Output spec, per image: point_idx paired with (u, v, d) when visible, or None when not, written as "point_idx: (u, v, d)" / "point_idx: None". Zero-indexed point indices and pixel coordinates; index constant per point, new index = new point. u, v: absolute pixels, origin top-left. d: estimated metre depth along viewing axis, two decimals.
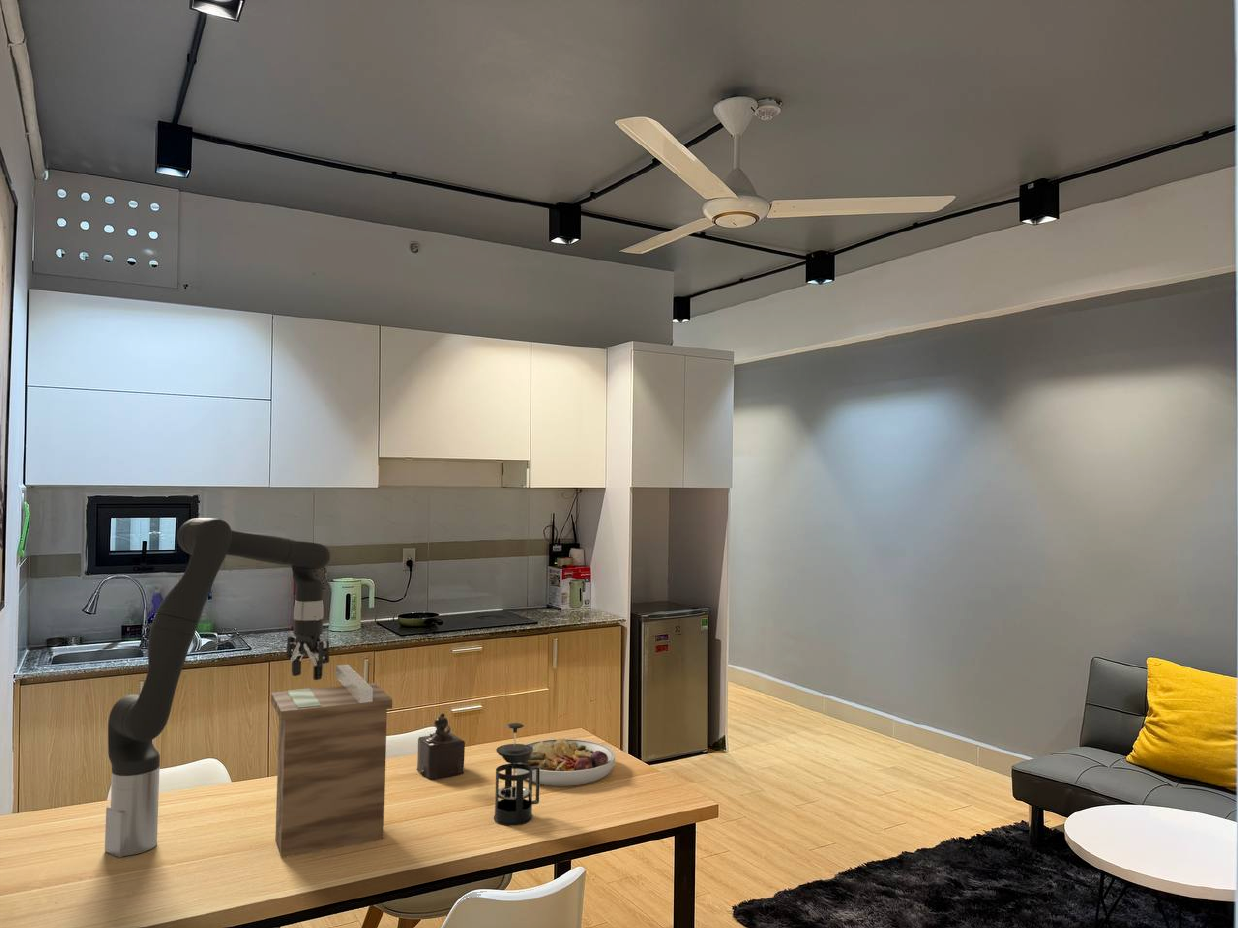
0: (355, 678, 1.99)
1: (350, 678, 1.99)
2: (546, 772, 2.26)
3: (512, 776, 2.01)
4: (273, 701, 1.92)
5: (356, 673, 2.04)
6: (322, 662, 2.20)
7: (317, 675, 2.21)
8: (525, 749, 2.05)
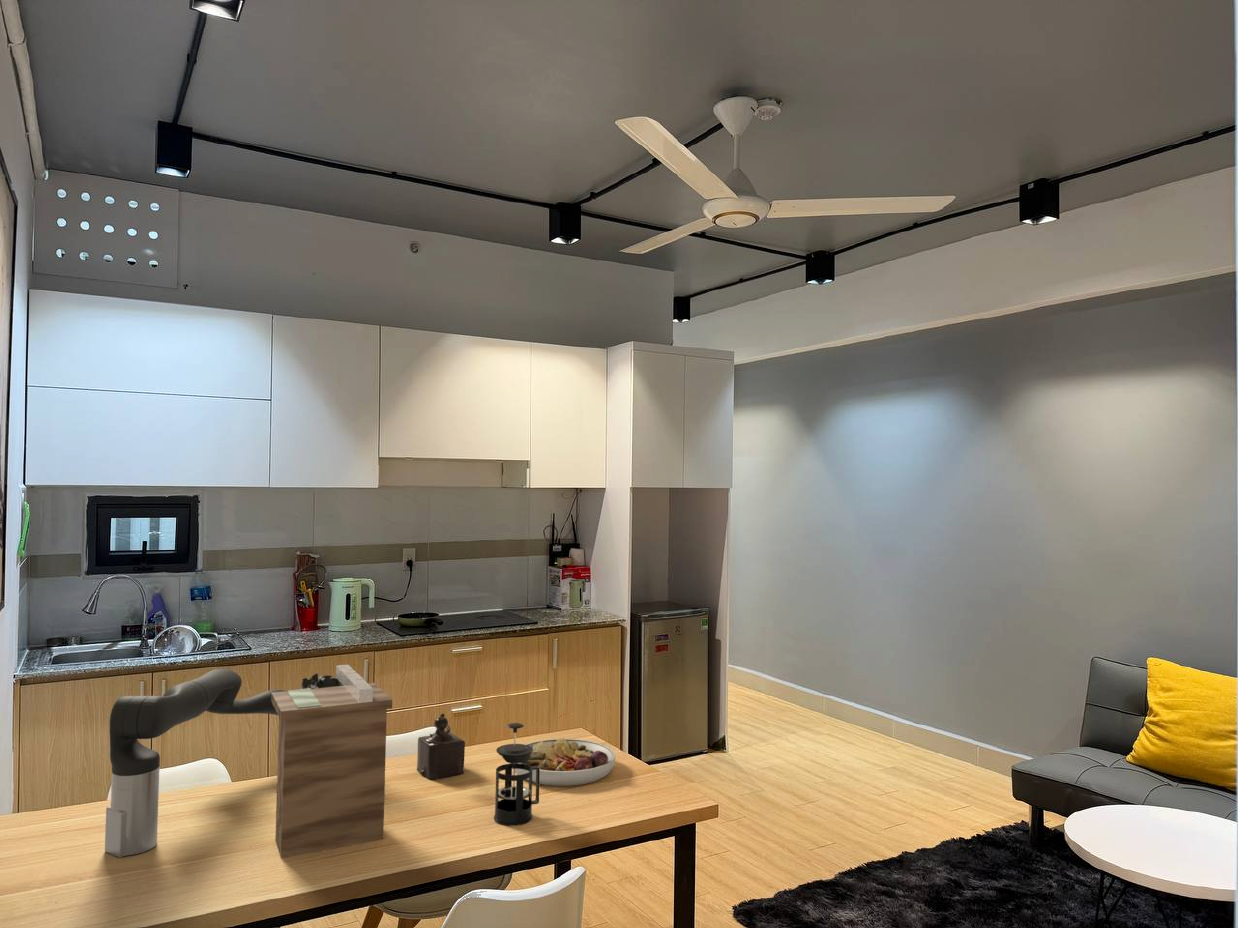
0: (355, 678, 1.99)
1: (350, 678, 1.99)
2: (546, 772, 2.26)
3: (512, 776, 2.01)
4: (273, 701, 1.92)
5: (356, 673, 2.04)
6: None
7: None
8: (525, 749, 2.05)
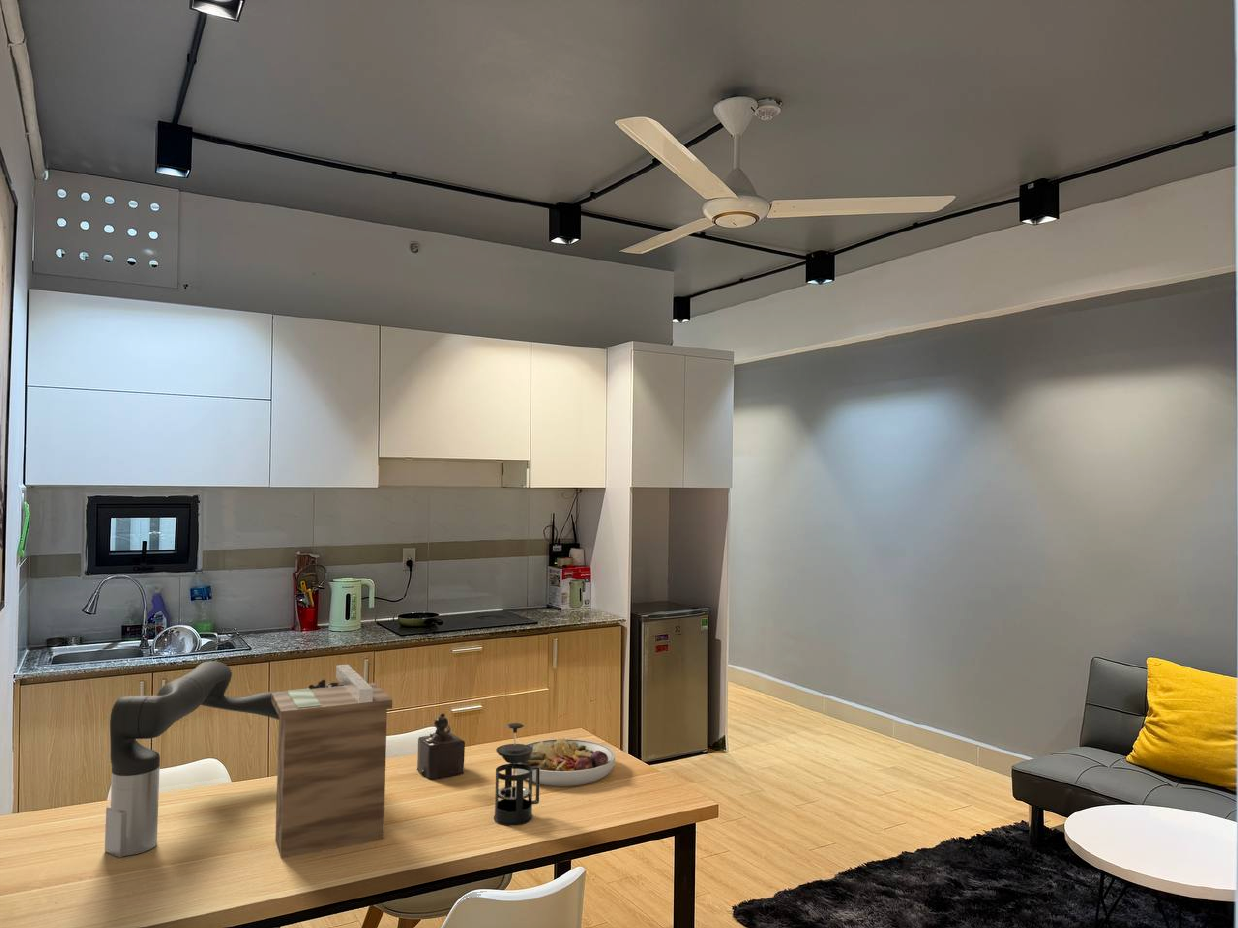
0: (355, 678, 1.99)
1: (350, 678, 1.99)
2: (546, 772, 2.26)
3: (512, 776, 2.01)
4: (273, 701, 1.92)
5: (356, 673, 2.04)
6: None
7: None
8: (525, 749, 2.05)
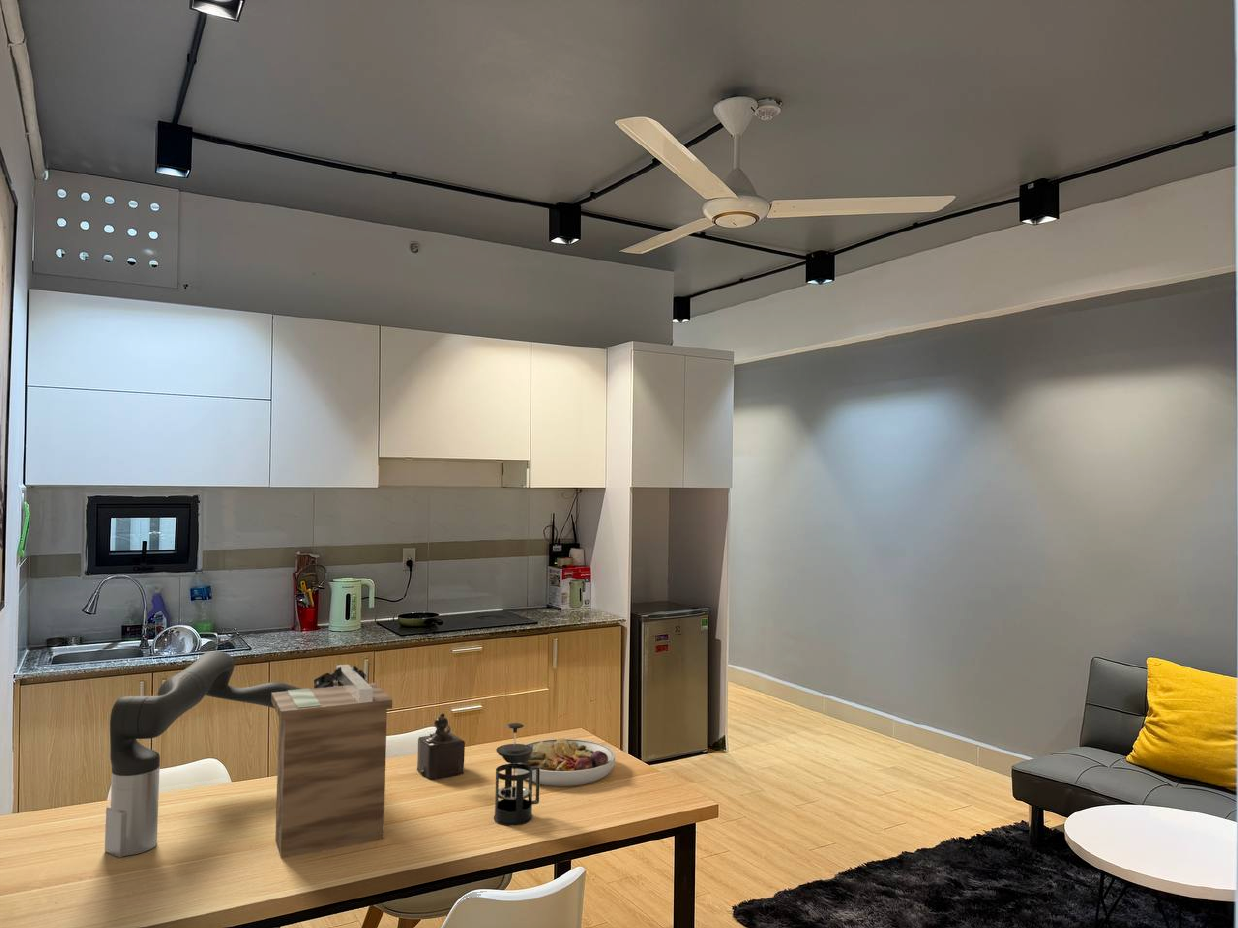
0: (355, 678, 1.99)
1: (350, 678, 1.99)
2: (546, 772, 2.26)
3: (512, 776, 2.01)
4: (273, 701, 1.92)
5: (356, 673, 2.04)
6: (362, 671, 2.14)
7: None
8: (525, 749, 2.05)
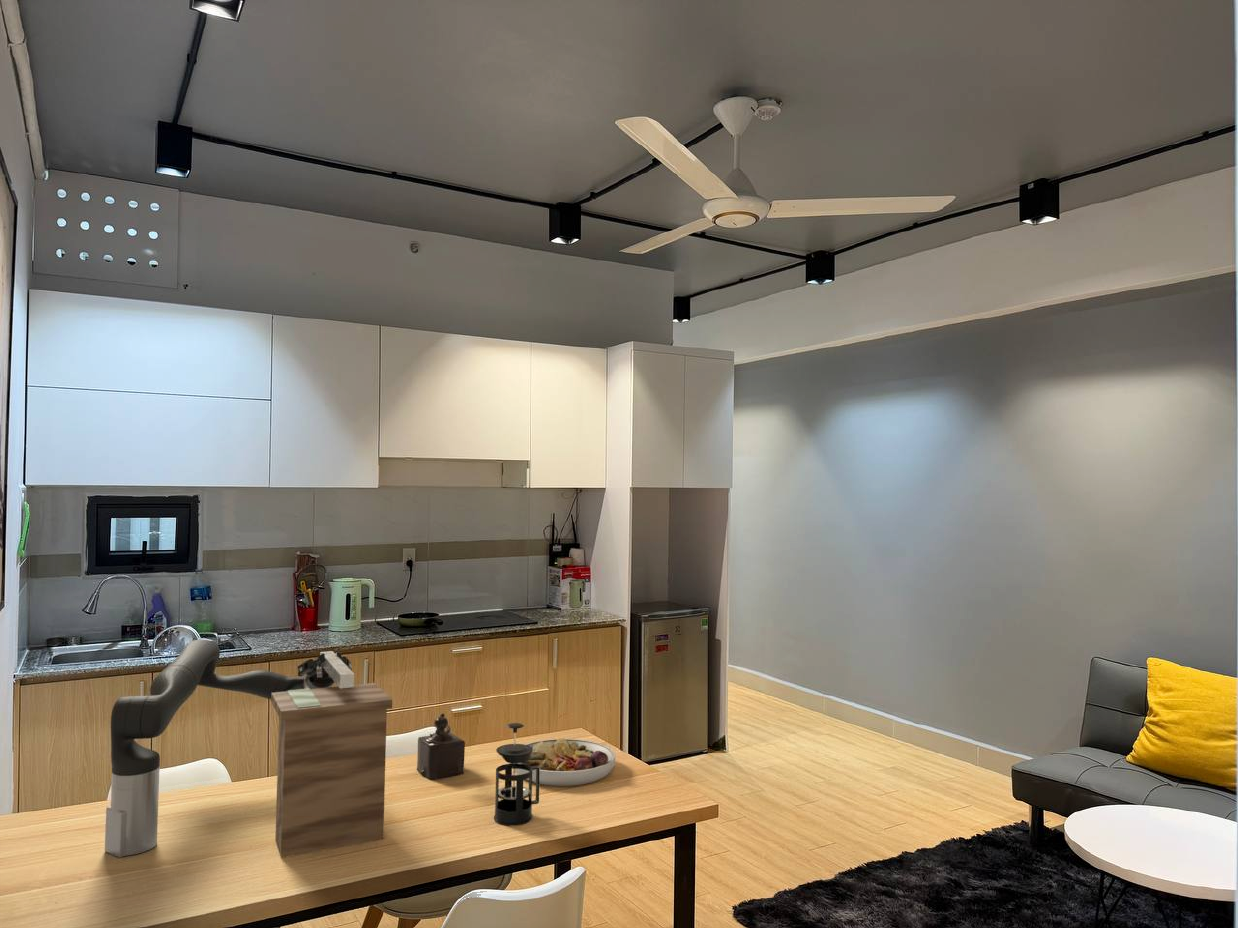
0: (337, 664, 1.97)
1: (332, 664, 1.97)
2: (546, 772, 2.26)
3: (512, 776, 2.01)
4: (273, 701, 1.92)
5: (339, 659, 2.02)
6: (346, 658, 2.12)
7: None
8: (525, 749, 2.05)
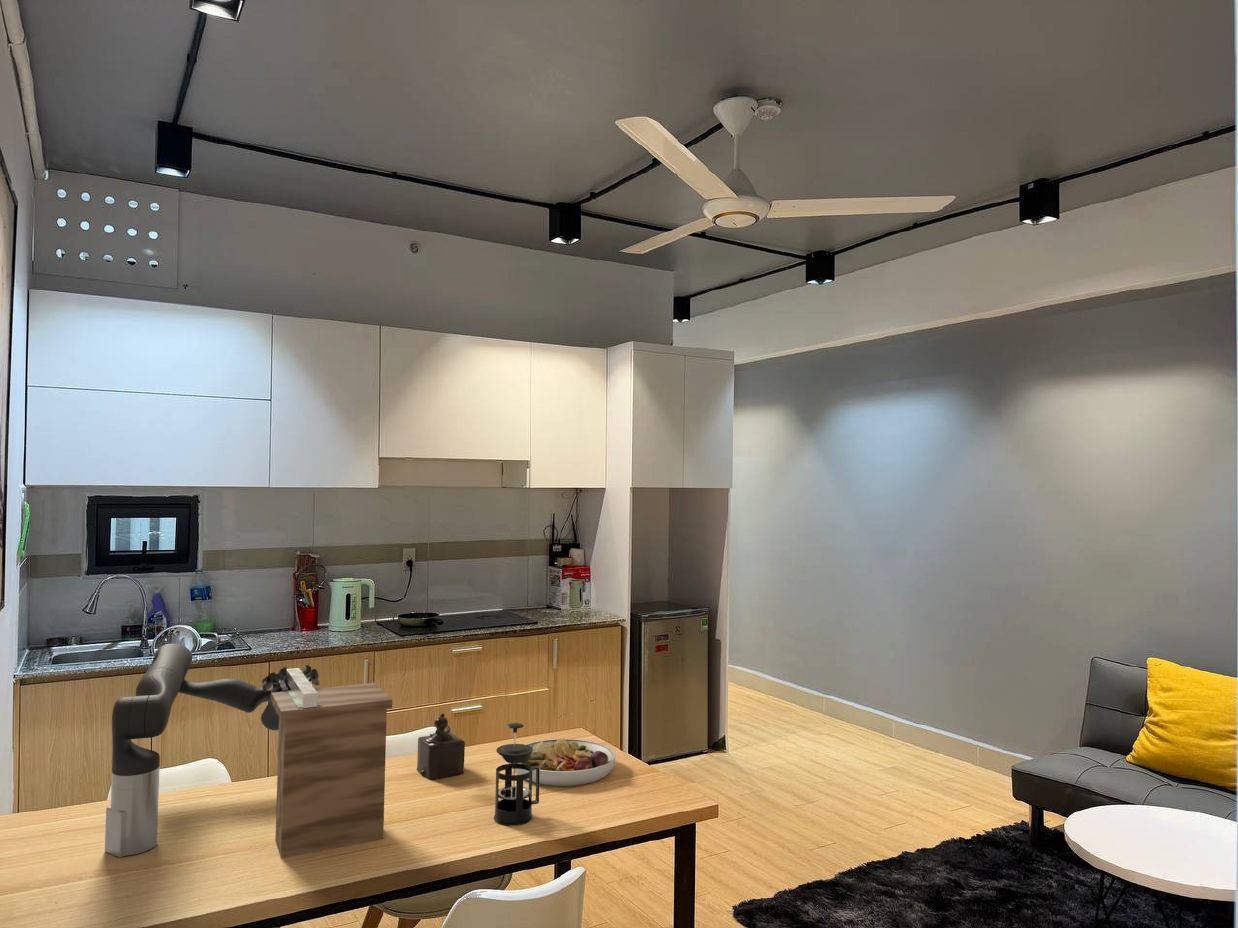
0: (302, 682, 1.93)
1: (297, 682, 1.93)
2: (546, 772, 2.26)
3: (512, 776, 2.01)
4: (273, 701, 1.92)
5: (304, 677, 1.99)
6: (316, 670, 2.09)
7: None
8: (525, 749, 2.05)
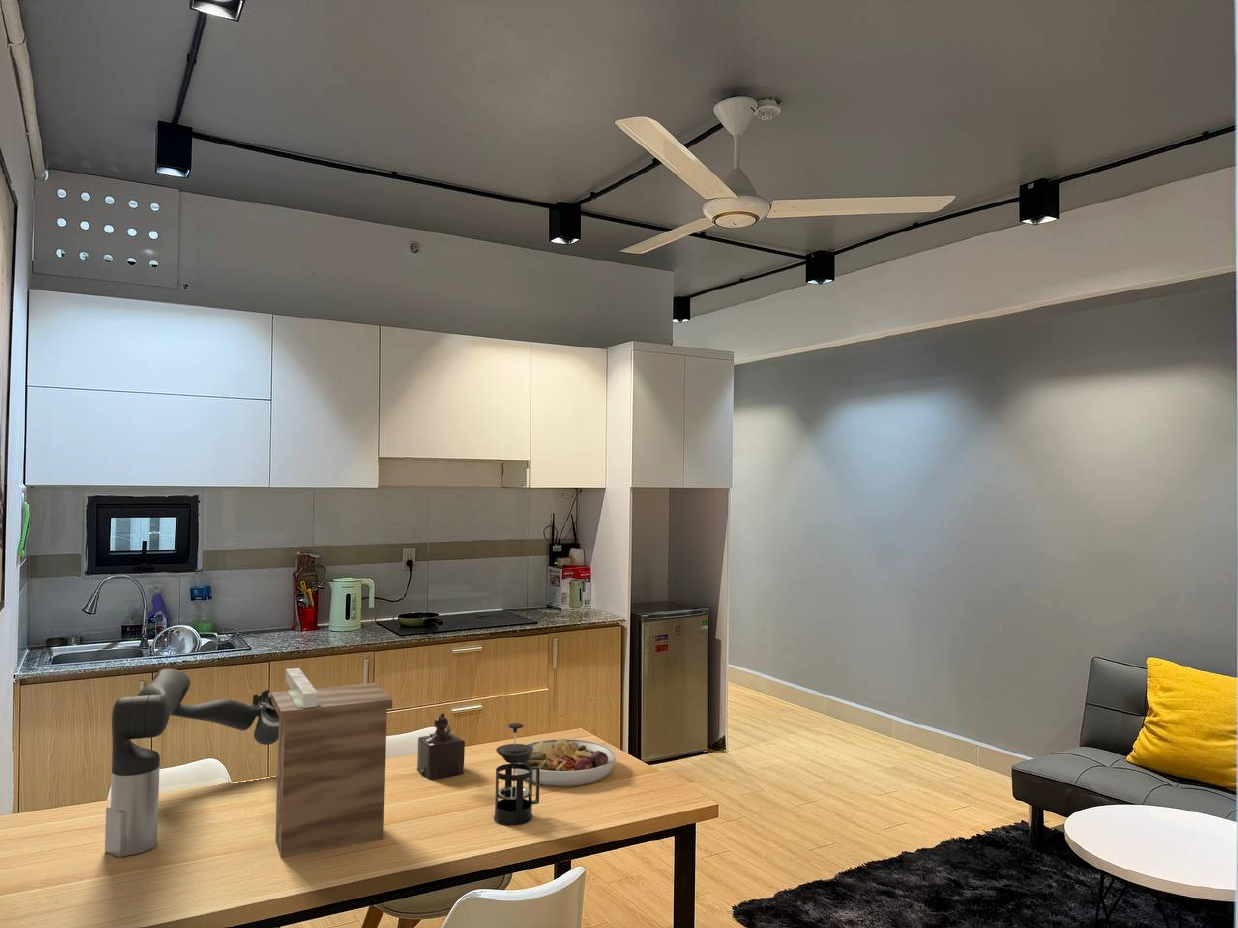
0: (302, 682, 1.93)
1: (297, 682, 1.93)
2: (546, 772, 2.26)
3: (512, 776, 2.01)
4: (273, 701, 1.92)
5: (304, 677, 1.99)
6: None
7: None
8: (525, 749, 2.05)
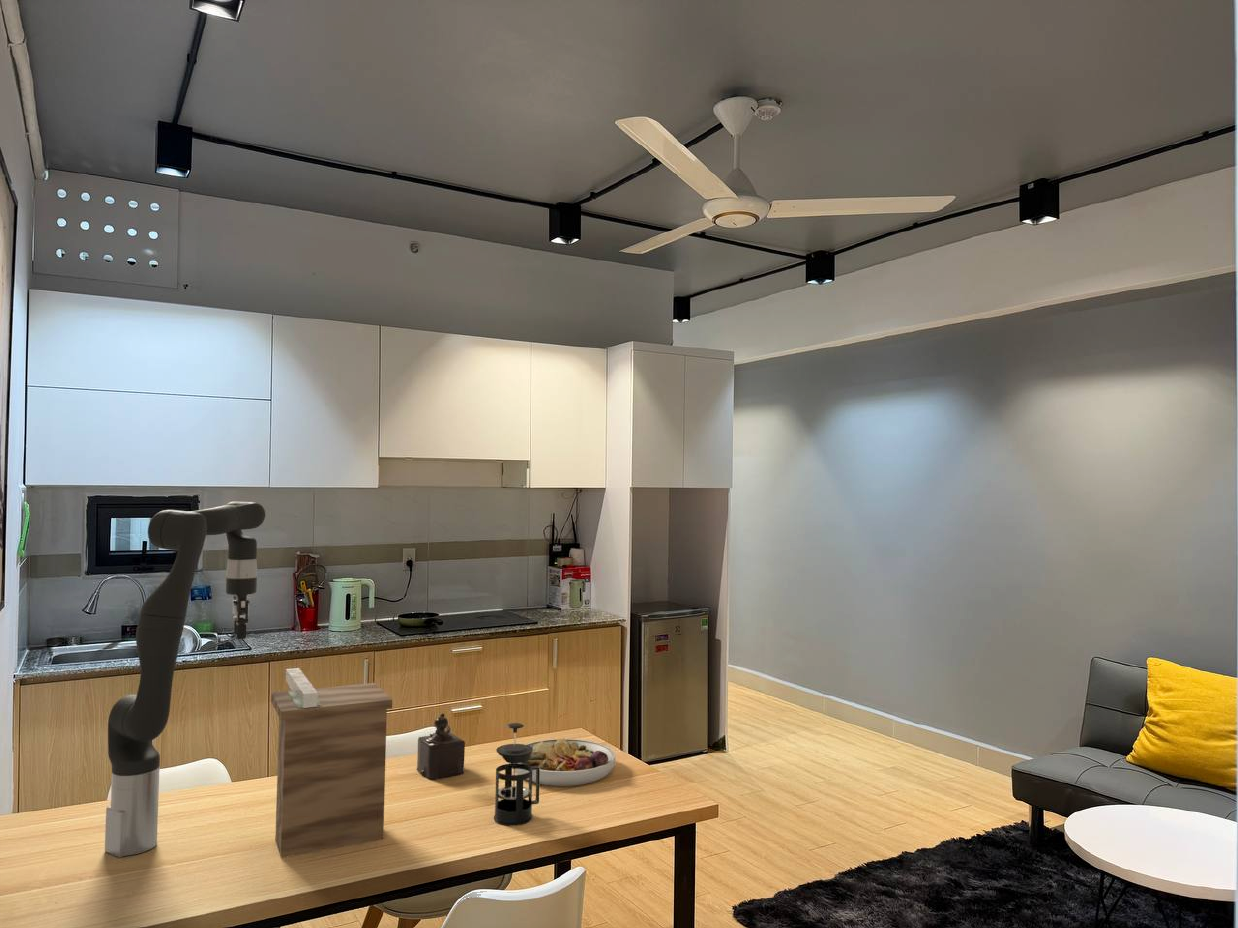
0: (302, 682, 1.93)
1: (297, 682, 1.93)
2: (546, 772, 2.26)
3: (512, 776, 2.01)
4: (273, 701, 1.92)
5: (304, 677, 1.99)
6: None
7: None
8: (525, 749, 2.04)
